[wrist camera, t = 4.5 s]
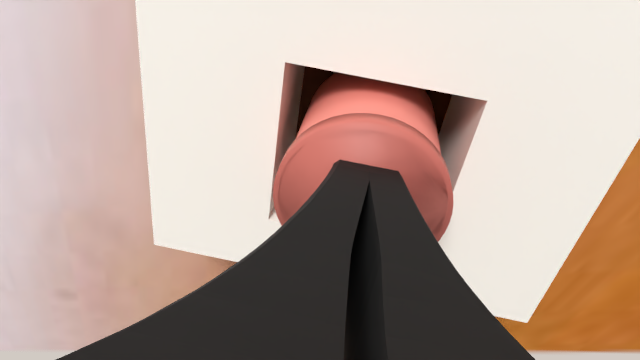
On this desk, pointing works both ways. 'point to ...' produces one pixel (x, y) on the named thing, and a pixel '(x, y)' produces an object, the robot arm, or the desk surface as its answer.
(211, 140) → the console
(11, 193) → the desk surface
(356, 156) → the red plug
